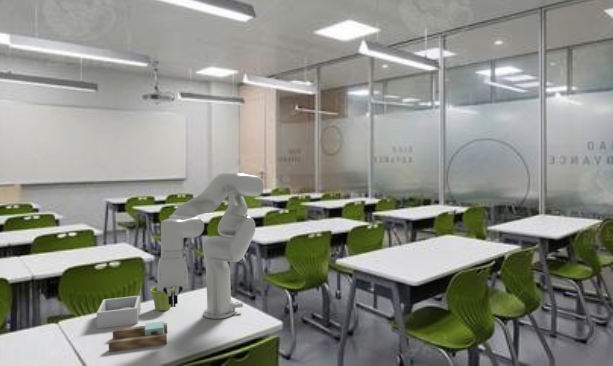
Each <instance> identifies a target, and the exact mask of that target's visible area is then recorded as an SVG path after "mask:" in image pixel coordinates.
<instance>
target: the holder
mask: <svg viewBox="0 0 613 366" xmlns="http://www.w3.org/2000/svg"><path fill="white" fill-rule="evenodd" d="M124 307H133V308H128V309H121V308H124ZM141 307H142V306H141V295H133V296H131V295H130V296H124V297H114V298H106V299H105V298H104V299H103V300H102V302H101V303H100V305H99V308H98V310H97V311H96V325H97V326H96V327H97V329H104V328H105V329H106V328H114V327H122V326H128V325H130V326H131V325H138V323H139V319H140V314H141V310H142V308H141ZM117 309H119V310H117Z"/></svg>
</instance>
